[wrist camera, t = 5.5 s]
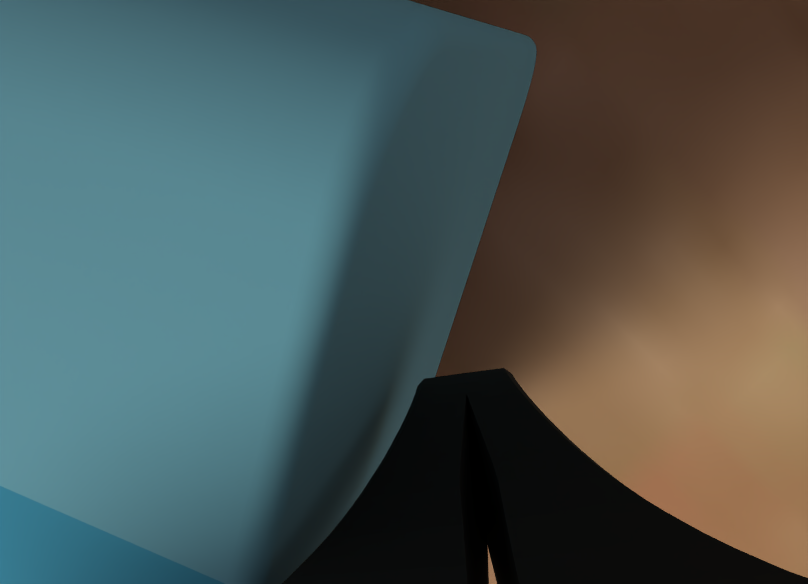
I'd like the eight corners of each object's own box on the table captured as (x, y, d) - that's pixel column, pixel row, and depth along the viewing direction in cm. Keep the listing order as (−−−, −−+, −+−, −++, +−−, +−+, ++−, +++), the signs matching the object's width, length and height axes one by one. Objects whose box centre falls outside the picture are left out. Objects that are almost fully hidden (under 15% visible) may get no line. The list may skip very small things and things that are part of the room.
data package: (350, -18, 17) (-149, -167, 6) (546, 41, 16) (413, 1, 5) (244, 435, 21) (-166, 860, 10) (396, 496, 20) (141, 1025, 9)
